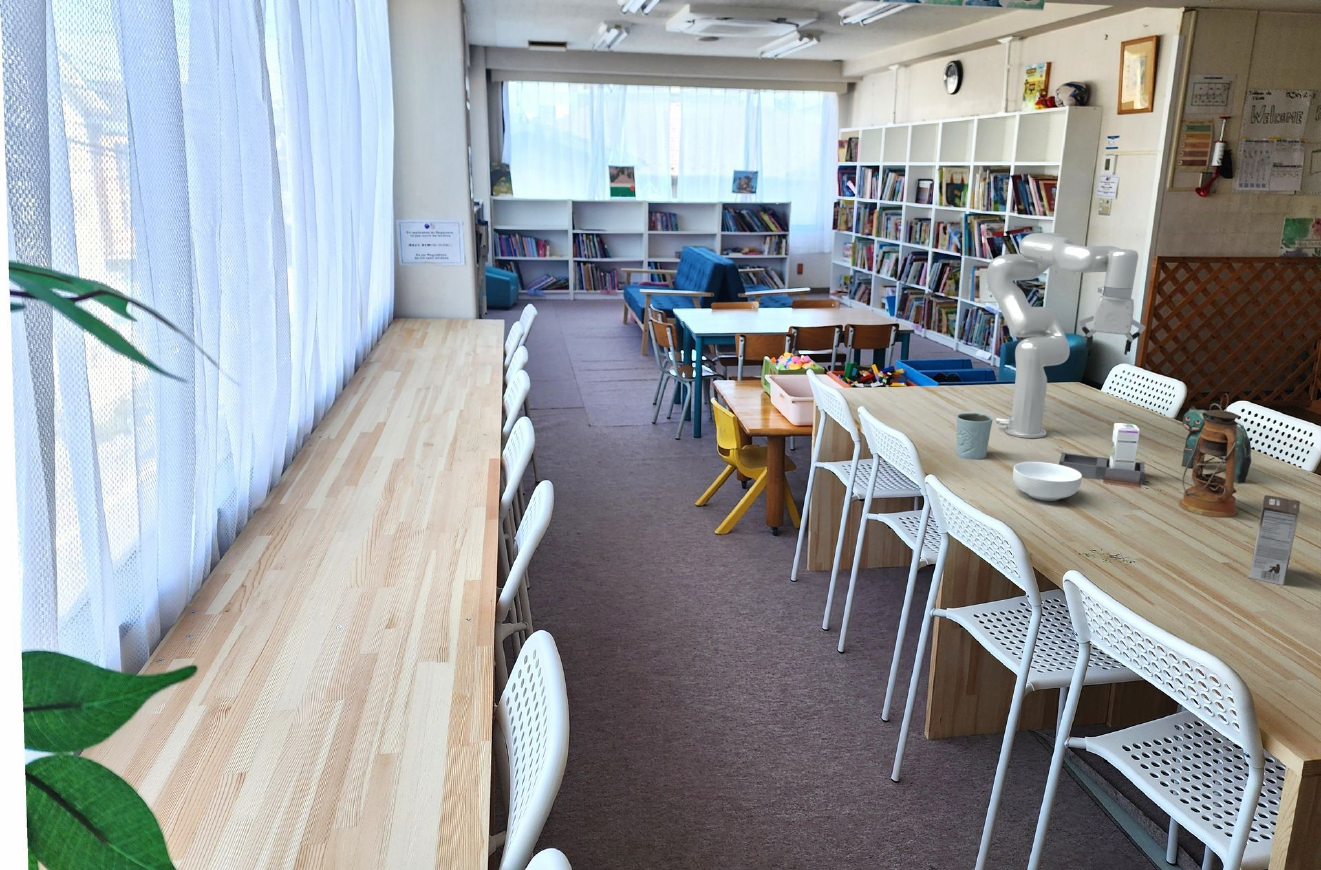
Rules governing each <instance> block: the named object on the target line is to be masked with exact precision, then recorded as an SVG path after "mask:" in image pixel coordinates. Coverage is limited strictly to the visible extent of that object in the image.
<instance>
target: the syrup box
mask: <svg viewBox="0 0 1321 870" xmlns="http://www.w3.org/2000/svg"><path fill="white" fill-rule="evenodd" d="M1112 431H1113V432H1112V439H1111V448H1110V454H1109V455H1110V456H1109V458H1110V461H1109V468H1117V469H1125V470H1133V471H1135V463H1136V462H1137V455H1138V448H1139V447H1138V446H1139V438H1140V431H1141V430H1140V429H1139V427H1138V426H1137V425H1136V424H1134V423H1126V422H1125V423H1121V422H1120V423H1118V422H1114V423H1113V430H1112Z"/></svg>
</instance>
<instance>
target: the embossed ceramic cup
mask: <svg viewBox="0 0 1321 870" xmlns="http://www.w3.org/2000/svg"><path fill="white" fill-rule="evenodd" d="M992 425H993V417H992V416H991V415H989V414H988V415H987V414H985V413H978V412H964V413H959V414H957V415H956V448H955V449H956V450H955V451H956V452H955V453H956V456H957V457H960V458H963V459H966V460H983V459H986V457H987V455H988V454H987V453H988V448H989V441H990V434H991V430H992Z"/></svg>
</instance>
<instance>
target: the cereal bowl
mask: <svg viewBox="0 0 1321 870" xmlns="http://www.w3.org/2000/svg"><path fill="white" fill-rule="evenodd" d="M1082 478H1083V477H1082V475H1081V473H1080V472H1078V471H1077V470H1075V469H1072V468H1069V467H1066V466H1062V465H1059V463H1058V464H1057V463H1050V462H1045V461H1044V462H1043V461H1042V462H1041V461H1022V462H1019V463H1016V464H1014V466H1013V471H1012V480H1013V482H1014V484H1015V485H1016V487H1017V488H1018V489H1019V490H1021V491H1022V492H1024V493H1025V494H1027V495H1028V497H1030V498H1033V499H1036V500H1040V501H1045V502H1047V501H1048V502H1049V501H1050V502H1051V501H1052V502H1053V501H1054V502H1055V501H1058V500H1060V499H1065V498H1068V497H1070V496H1073V495H1074V494H1076V493H1077V492H1078V491H1079V489H1080V486H1081V484H1082Z"/></svg>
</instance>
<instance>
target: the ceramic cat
mask: <svg viewBox="0 0 1321 870" xmlns="http://www.w3.org/2000/svg"><path fill="white" fill-rule="evenodd" d="M1213 406H1216V407H1218V408H1219V409H1220V404H1218V403H1212V404H1210V407H1209V410H1212V407H1213ZM1209 410H1208V411H1209ZM1206 411H1207V410H1205V409H1197V408H1196V406H1193V405H1191V406H1190V407H1189V410H1188V411H1187V412H1186V413H1184V415H1183V417H1182V426H1183V428H1184V429H1185V430H1187V431H1188V432H1189V433H1188V436H1187V437H1186V439H1185V444H1184V448H1183V451H1182V461H1181V467H1184V468H1186V466H1187V464H1188V462H1189V460H1190V458H1191V456H1192V454H1193V451H1194V449H1195V446H1196V442H1197V439H1198V437H1199V435H1200V433H1201V431H1202V429H1203V427H1204V425H1205V420H1206V419H1208V415H1207V414H1206V413H1205V412H1206ZM1235 422H1237V428H1236V429H1237V434H1236V438H1237V439H1238V441H1236V458H1235V464H1236V466H1235V475H1234V484H1241V483H1245V482H1246V480H1247V478H1248V474H1249V470H1250V467H1251V464H1252V456H1251V454H1252V447H1251V446H1252V444H1251V440H1250V438H1249V436H1248V432H1247V429H1246V428H1245V427H1244V425H1242V424H1241V423H1239V422H1238V421H1236V420H1235ZM1197 451H1198V446H1197V449H1196V451H1195V454H1194V457H1193V458H1192V460H1191V462H1190V464H1189V466H1188V468H1187V469H1192V468H1193V467H1194V466H1193V465H1194V464H1193V459H1194V458H1195V456H1196V455H1197ZM1194 462H1195V461H1194Z"/></svg>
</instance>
